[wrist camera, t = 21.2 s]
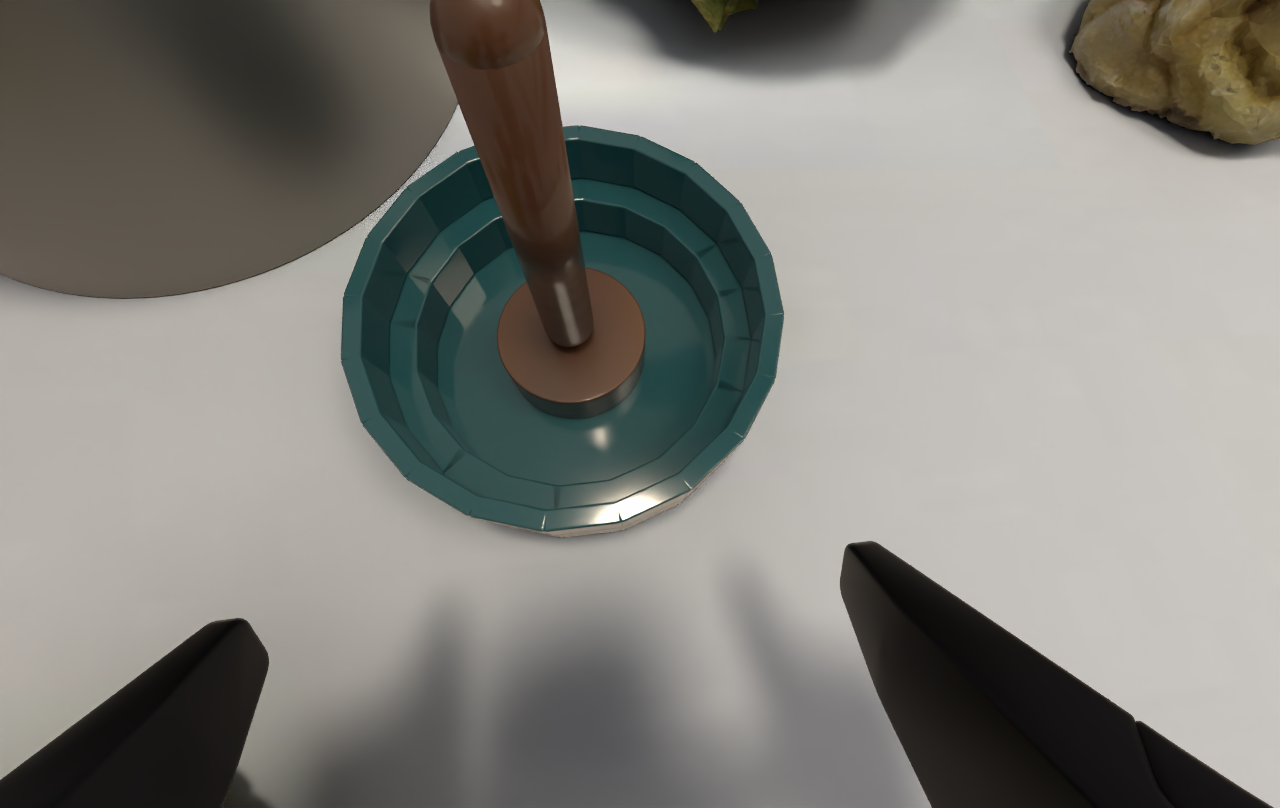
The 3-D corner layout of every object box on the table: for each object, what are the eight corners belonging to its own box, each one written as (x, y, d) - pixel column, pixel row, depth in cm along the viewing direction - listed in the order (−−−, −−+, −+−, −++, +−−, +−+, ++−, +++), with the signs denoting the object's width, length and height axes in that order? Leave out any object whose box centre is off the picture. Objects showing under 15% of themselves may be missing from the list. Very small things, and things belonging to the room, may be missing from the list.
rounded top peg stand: (643, 292, 21) (662, -162, 8) (645, 418, 19) (673, 125, 6) (512, 293, 21) (308, -166, 8) (505, 419, 19) (239, 125, 6)
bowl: (813, 442, 20) (864, 409, 15) (473, 602, 18) (423, 615, 14) (660, 166, 23) (667, 76, 19) (359, 280, 21) (290, 209, 17)
